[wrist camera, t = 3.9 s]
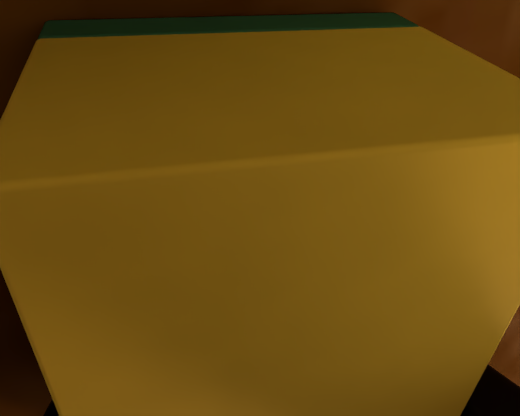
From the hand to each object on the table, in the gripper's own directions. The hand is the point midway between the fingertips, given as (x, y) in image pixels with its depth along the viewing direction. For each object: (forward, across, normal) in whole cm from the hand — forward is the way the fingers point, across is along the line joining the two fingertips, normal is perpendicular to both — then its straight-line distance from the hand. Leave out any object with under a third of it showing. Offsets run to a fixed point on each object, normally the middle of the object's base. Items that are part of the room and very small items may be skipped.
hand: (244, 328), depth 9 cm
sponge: (+1, 0, 0) cm, 1 cm away
